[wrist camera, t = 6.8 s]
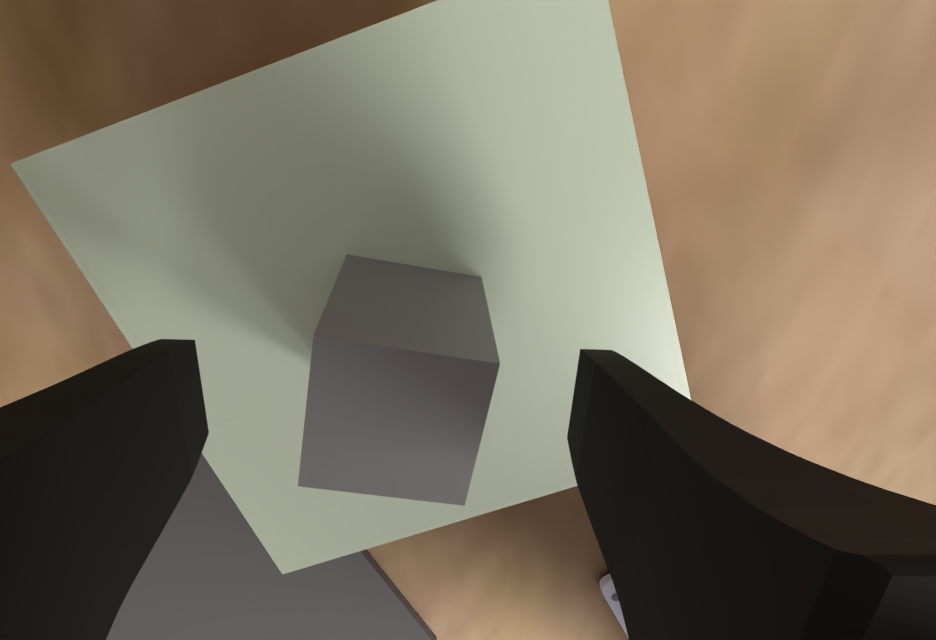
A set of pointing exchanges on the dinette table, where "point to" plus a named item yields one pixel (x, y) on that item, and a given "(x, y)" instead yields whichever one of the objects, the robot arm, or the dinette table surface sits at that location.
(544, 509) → the dinette table surface
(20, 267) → the dinette table surface
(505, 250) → the sheet
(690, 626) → the robot arm
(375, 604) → the mat
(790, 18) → the dinette table surface
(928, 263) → the dinette table surface
